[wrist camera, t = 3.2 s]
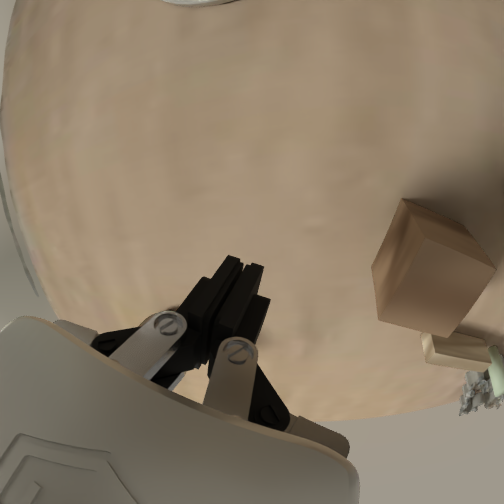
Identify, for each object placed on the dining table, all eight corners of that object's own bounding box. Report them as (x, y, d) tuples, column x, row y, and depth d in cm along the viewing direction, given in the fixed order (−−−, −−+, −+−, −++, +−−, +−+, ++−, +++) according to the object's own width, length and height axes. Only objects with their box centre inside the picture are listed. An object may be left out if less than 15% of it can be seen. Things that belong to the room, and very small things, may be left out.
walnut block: (401, 197, 16) (425, 237, 12) (463, 225, 16) (496, 269, 11) (371, 266, 20) (378, 320, 15) (430, 285, 19) (447, 338, 14)
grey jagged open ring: (494, 388, 23) (498, 409, 20) (453, 402, 26) (456, 424, 23) (512, 347, 19) (521, 372, 16) (465, 364, 22) (472, 392, 19)
